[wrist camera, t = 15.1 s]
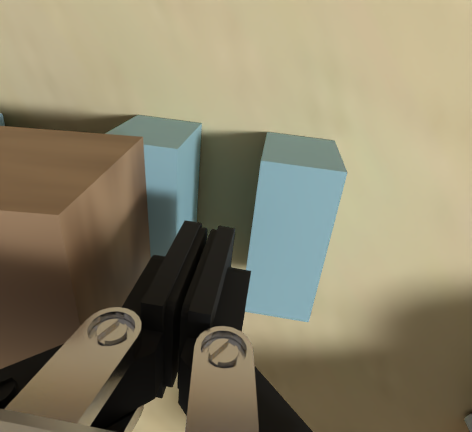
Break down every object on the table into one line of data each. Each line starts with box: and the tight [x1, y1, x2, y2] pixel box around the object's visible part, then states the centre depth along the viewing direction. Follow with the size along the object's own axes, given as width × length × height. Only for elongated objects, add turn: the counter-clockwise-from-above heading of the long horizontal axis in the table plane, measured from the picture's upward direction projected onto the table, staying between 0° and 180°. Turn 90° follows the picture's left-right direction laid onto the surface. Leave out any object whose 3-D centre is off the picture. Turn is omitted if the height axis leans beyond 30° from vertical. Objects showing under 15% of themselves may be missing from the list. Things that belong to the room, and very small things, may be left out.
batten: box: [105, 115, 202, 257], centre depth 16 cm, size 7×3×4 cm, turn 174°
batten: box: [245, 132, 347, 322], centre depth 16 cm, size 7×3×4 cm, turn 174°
